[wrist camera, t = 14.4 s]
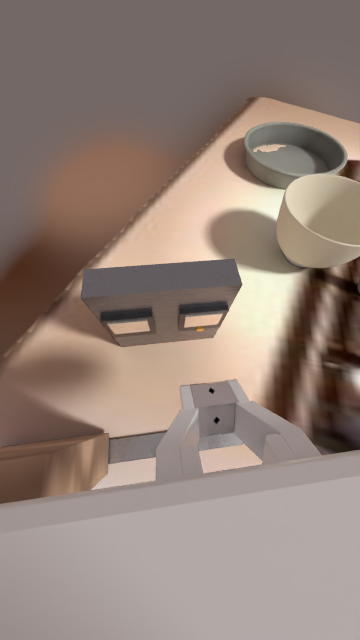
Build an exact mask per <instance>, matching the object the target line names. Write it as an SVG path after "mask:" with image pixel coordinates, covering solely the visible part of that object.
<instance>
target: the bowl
mask: <svg viewBox="0 0 360 640" xmlns="http://www.w3.org/2000/svg"><path fill="white" fill-rule="evenodd" d="M276 236H277V241H278V243H279V246H280V248H281V249H282V251H283V252H284V255H285V257H286V259H287V260H288V261H289V262H291V263H292V264H294V265H296V266H299V267H311V268H329V267H334V266H338V265H341V264H344V263H346V262H349V261H351V260H353V259H355V258H357V257H359V256H360V183H359V182H356V181H354V180H351V179H348V178H345V177H341V176H336V175H329V174H312V175H306V176H303V177H300V178H298V179H296V180H294V181H293V182H292V183H290V185H289V186H288V187H287V189H286V191H285V193H284V197H283V200H282V204H281V207H280V211H279V215H278V219H277V225H276Z"/></svg>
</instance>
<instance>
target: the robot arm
mask: <svg viewBox="0 0 360 640" xmlns="http://www.w3.org/2000/svg"><path fill="white" fill-rule="evenodd" d="M180 398H181V410H180V411H179V413H178V414H177V416H176V418H175V419H174V421H173V423H172V424H171V426H170V428H169V429H168V431H167V432H166V434H165V436H164V437H163V439H162V441H161V442H160V444H159V446H158V447H157V449H156V481H150V482H143V483H136V484H130V485H123V486H116V487H110V488H103V489H96V490H90V491H83V492H76V493H70V494H63V495H56V496H50V497H43V498H37V499H30V500H23V501H17V502H10V503H3V504H0V640H360V450H356V451H349V452H342V453H336V454H329V455H323V456H322V455H321V454H320V453H319V451H318V450H317V449H316V447H315V446H314V445H313V444H312V442H311V441H310V440H309V439H308V437H307V436H306V435H305V433H304V432H303V431H302V430H301V429H300V428H298V427H296V426H295V425H293V424H291V423H290V422H288V421H286V420H284V419H283V418H281V417H279V416H278V415H276V414H274V413H273V412H271V411H269V410H267V409H266V408H264V407H262V406H261V405H259V404H257V403H255V402H254V401H249V399H248V397H247V396H246V394H245V392H244V391H243V389H242V387H241V386H240V384H239V382H238V381H237V380H236V379H233V380H226V381H220V382H212V383H202V384H191V385H182V386H180ZM229 433H234V434H235V435H236V436H237V437H238V438H239V439H240V440H241V441H242V442H243V443H244V444H245V445H246V446H247V447H248V448H249V449H250V450H251V451H252V452H254V453H255V454H256V455H257V456H258V457H259V458H260V459H261V460H262V461H263V462H262V465H256V466H249V467H243V468H236V469H229V470H223V471H216V472H209V473H203V470H202V465H201V461H200V456H199V451H198V447H197V445H198V442H199V438H201V437H207V436H213V435H220V434H229Z"/></svg>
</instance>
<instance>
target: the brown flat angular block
mask: <svg viewBox="0 0 360 640" xmlns="http://www.w3.org/2000/svg"><path fill="white" fill-rule="evenodd" d="M108 448H109V433H105V434H98V435H90V436H83V437H75V438H68V439H60V440H53V441H45V442H38V443H31V444H23V445H16V446H8V447H1V448H0V504H3V503H10V502H17V501H23V500H30V499H37V498H43V497H50V496H56V495H63V494H70V493H76V492H83V491H90V490H91V489H92V488H93V487H94V486H95V485H96V484H97V483H98V482H99V481H100V480H101V479H102V478H103V477H104V476H106V475H107V474H108Z"/></svg>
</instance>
